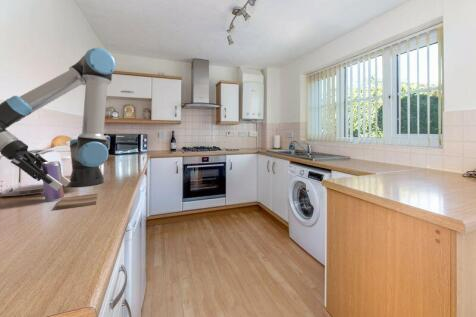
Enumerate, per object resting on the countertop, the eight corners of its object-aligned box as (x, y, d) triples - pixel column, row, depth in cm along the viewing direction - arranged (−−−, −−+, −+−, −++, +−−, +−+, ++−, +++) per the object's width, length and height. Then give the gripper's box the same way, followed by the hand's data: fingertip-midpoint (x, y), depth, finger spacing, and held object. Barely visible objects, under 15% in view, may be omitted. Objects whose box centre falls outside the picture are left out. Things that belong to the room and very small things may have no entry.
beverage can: (53, 202, 90) (49, 163, 88) (41, 201, 91) (36, 163, 89) (67, 197, 95) (64, 161, 93) (55, 196, 96) (51, 161, 95)
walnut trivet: (62, 200, 91) (61, 197, 91) (97, 196, 97) (97, 193, 96) (55, 209, 80) (55, 206, 80) (96, 204, 86) (95, 201, 86)
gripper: (19, 151, 96) (68, 187, 102) (-19, 156, 78) (43, 199, 84) (32, 138, 97) (80, 174, 103) (-2, 140, 79) (58, 184, 84)
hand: (63, 185), depth 93 cm, fingers closed on beverage can, 6 cm apart
